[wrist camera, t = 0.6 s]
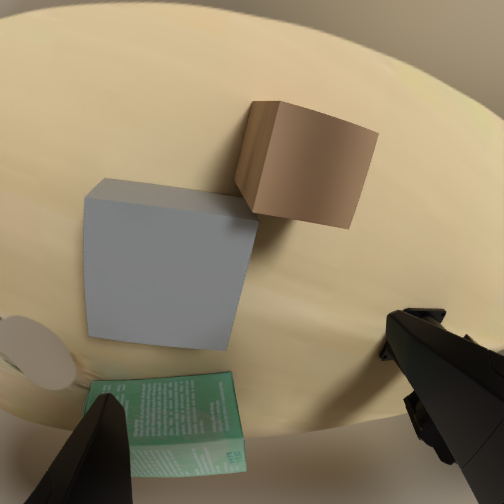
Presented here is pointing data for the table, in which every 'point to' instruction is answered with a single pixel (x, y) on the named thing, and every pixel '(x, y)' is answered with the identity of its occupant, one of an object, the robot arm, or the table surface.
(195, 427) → the box
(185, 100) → the table surface
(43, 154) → the table surface
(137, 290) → the base
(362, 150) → the block
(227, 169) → the table surface
